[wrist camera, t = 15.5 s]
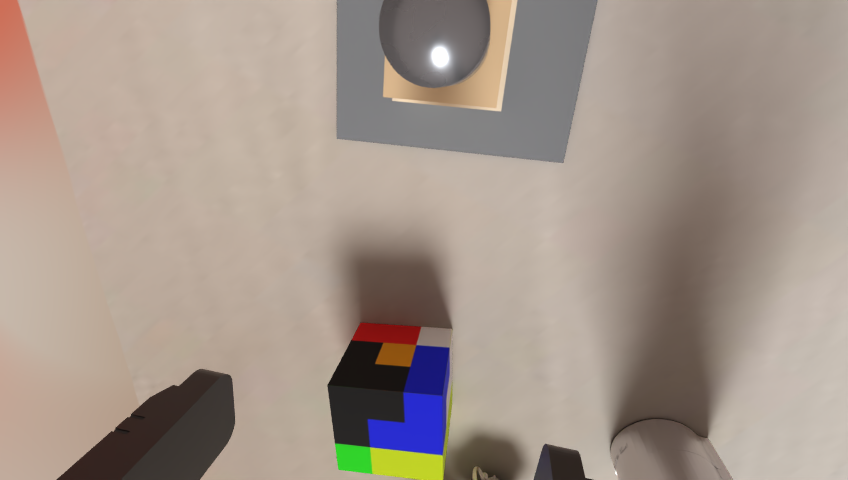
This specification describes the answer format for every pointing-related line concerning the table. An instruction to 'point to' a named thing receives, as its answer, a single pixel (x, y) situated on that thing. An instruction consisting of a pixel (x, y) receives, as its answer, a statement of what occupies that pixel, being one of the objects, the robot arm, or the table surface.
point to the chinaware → (482, 475)
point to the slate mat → (464, 127)
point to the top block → (476, 88)
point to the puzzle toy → (393, 401)
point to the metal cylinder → (435, 39)
